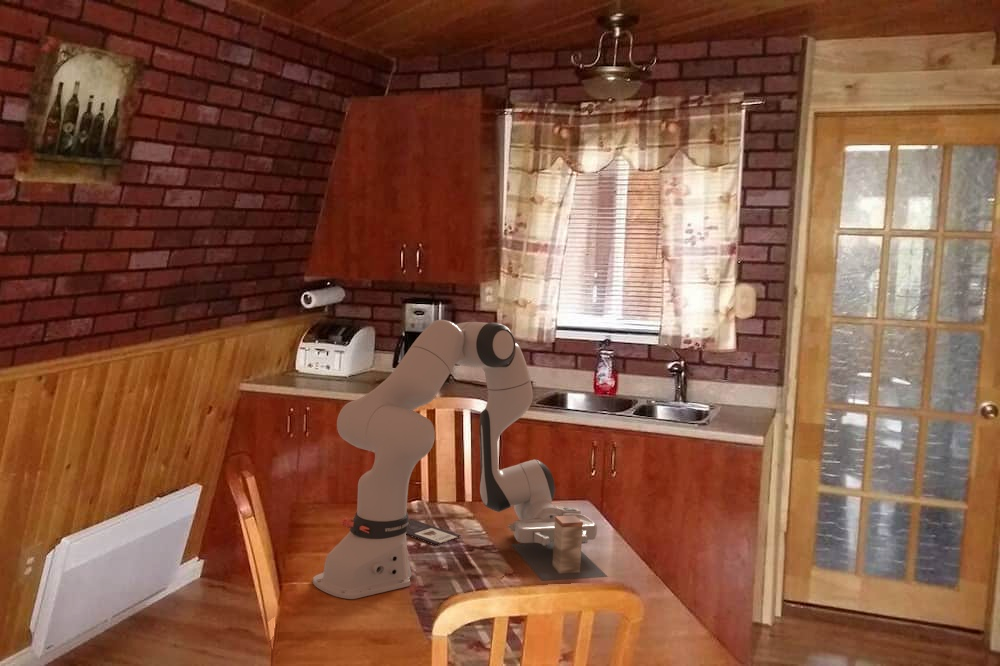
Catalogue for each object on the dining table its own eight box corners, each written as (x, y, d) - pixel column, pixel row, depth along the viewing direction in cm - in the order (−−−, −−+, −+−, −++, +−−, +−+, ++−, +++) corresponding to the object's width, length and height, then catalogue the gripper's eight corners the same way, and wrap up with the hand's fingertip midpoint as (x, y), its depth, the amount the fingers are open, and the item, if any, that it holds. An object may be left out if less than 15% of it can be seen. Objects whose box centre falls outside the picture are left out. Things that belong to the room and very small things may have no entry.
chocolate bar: (411, 518, 245) (460, 535, 233) (411, 522, 245) (460, 539, 233) (386, 526, 238) (436, 543, 226) (386, 529, 238) (435, 547, 227)
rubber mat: (607, 578, 210) (607, 576, 210) (542, 583, 206) (542, 580, 206) (570, 543, 233) (570, 540, 233) (510, 546, 229) (510, 544, 229)
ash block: (559, 573, 211) (562, 523, 209) (552, 565, 215) (555, 516, 214) (579, 572, 212) (582, 522, 211) (572, 564, 217) (575, 515, 215)
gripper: (507, 511, 224) (524, 530, 210) (584, 508, 229) (606, 526, 216) (505, 536, 224) (523, 556, 211) (583, 532, 230) (604, 552, 217)
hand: (566, 541), depth 214 cm, fingers open, 8 cm apart
